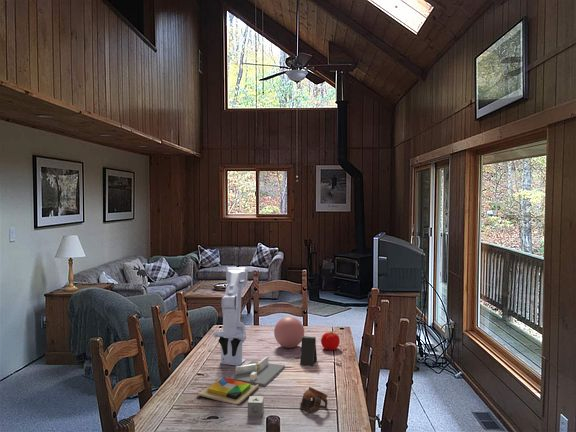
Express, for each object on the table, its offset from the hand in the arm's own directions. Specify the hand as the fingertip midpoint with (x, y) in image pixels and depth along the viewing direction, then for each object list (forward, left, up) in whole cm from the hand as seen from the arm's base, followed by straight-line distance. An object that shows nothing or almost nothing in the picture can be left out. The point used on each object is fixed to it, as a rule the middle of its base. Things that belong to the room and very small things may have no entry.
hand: (229, 355), depth 193 cm
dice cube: (+25, -28, -9) cm, 39 cm away
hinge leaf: (+8, +2, -7) cm, 11 cm away
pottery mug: (+43, -18, -9) cm, 48 cm away
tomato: (+31, +49, -9) cm, 59 cm away
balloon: (+10, +46, -9) cm, 48 cm away
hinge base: (+11, +5, -8) cm, 15 cm away
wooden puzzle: (+8, -16, -9) cm, 20 cm away
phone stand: (+27, +26, -9) cm, 38 cm away
